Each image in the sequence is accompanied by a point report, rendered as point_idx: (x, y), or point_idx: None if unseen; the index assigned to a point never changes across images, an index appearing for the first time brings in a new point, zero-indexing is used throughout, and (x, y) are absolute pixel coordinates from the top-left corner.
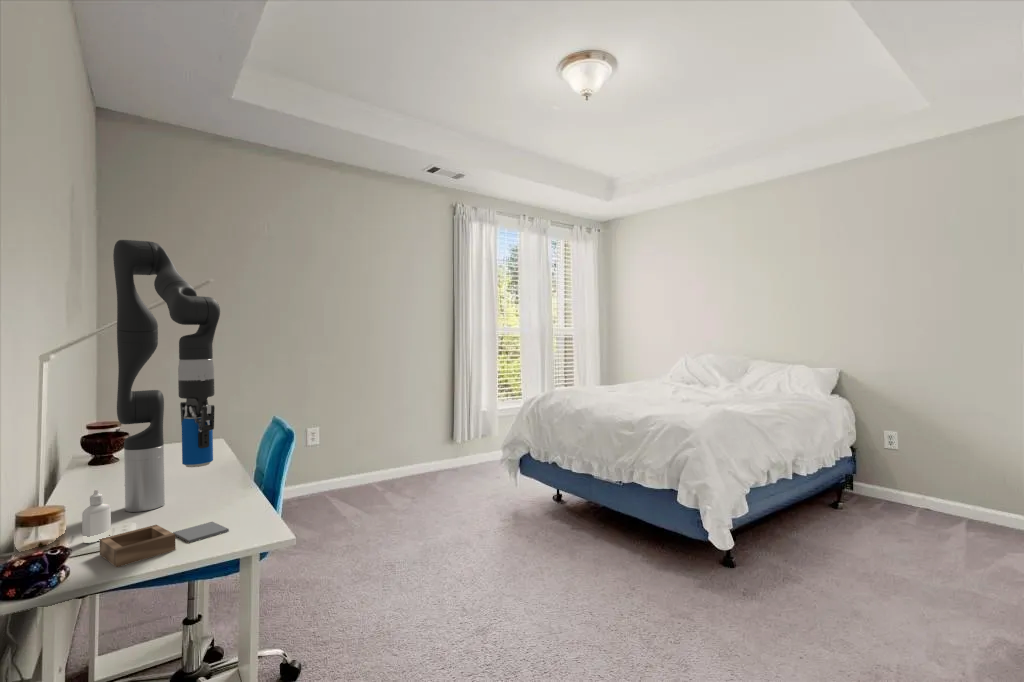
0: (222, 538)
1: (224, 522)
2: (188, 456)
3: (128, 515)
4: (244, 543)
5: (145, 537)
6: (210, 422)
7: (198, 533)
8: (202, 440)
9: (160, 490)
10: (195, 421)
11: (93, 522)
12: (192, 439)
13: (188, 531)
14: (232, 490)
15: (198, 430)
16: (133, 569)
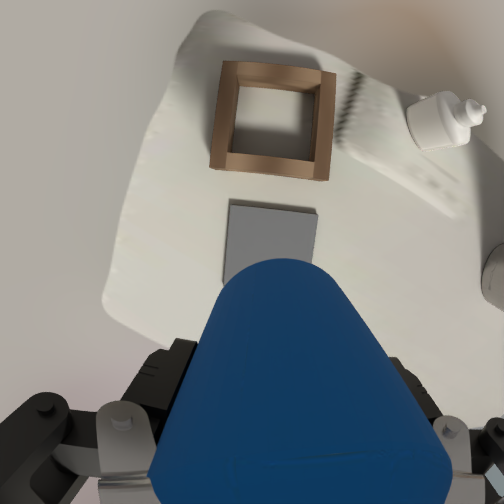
0: (194, 256)
1: None
2: (248, 279)
3: (490, 234)
4: (132, 262)
5: (312, 151)
6: (57, 486)
7: (255, 239)
8: (140, 371)
9: (500, 300)
10: (105, 488)
11: (426, 105)
12: (207, 349)
13: (290, 234)
14: (437, 400)
15: (112, 410)
16: (189, 87)
